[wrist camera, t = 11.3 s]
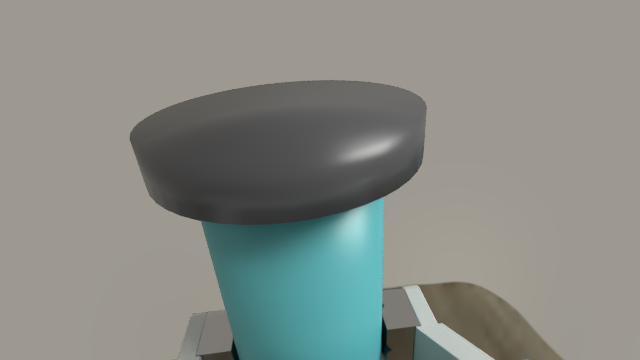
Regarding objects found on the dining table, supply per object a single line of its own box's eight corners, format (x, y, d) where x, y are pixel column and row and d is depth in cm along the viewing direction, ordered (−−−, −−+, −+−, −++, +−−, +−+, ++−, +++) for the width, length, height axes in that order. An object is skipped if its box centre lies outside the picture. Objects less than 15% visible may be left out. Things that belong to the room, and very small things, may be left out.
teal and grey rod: (427, 543, 12) (500, 126, 5) (265, 611, 11) (75, 196, 4) (367, 387, 18) (362, 72, 10) (252, 423, 16) (159, 97, 9)
